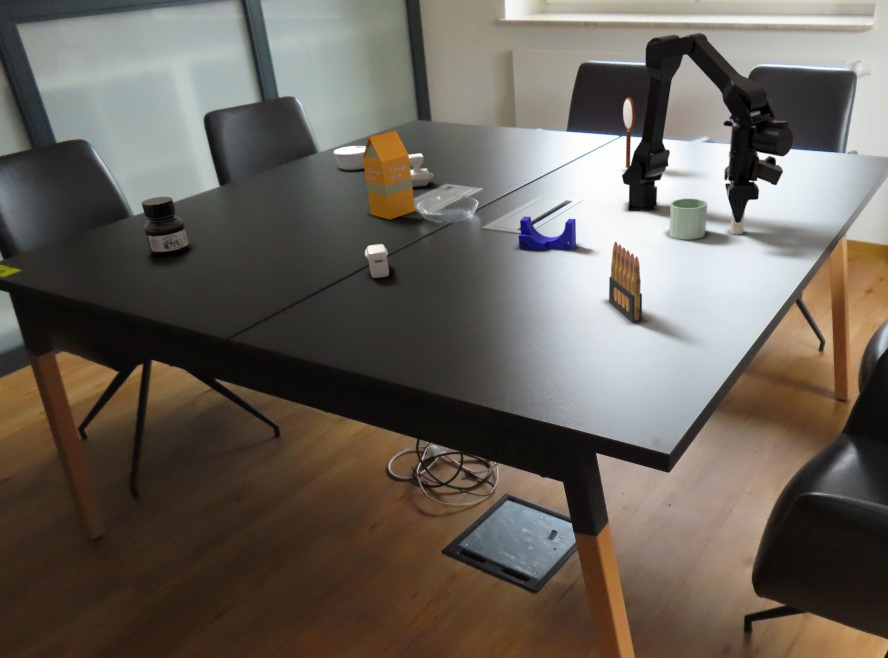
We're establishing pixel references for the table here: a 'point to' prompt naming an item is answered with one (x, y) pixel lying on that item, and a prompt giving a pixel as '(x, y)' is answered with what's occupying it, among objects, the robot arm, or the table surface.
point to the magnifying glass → (628, 125)
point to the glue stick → (737, 225)
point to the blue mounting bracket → (539, 242)
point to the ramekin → (350, 157)
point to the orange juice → (388, 176)
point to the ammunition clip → (625, 284)
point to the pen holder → (688, 218)
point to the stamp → (419, 171)
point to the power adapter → (377, 260)
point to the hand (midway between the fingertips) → (737, 220)
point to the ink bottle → (164, 227)
